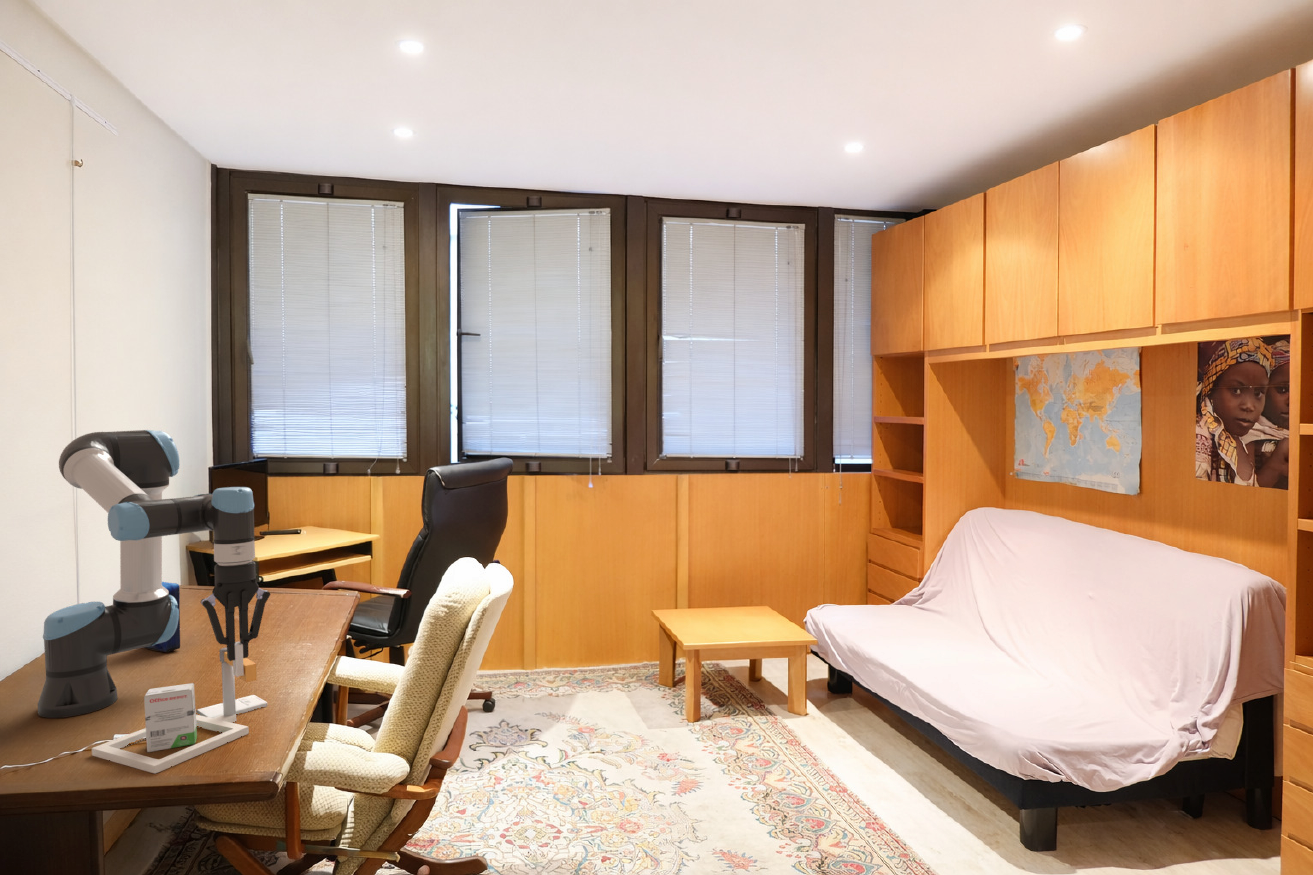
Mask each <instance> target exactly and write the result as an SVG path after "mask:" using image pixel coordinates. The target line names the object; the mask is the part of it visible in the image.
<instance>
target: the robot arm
mask: <svg viewBox="0 0 1313 875" xmlns="http://www.w3.org/2000/svg"><path fill="white" fill-rule="evenodd" d="M58 468H59V472H60V474H61V476H62V478H63V479H64V480H65V481H66V482H67V483H68V484H70V486H72V487H74V488H77V489H81V490H83V491H84V492H86V493H87V495H88V496H89V497H91V498H92V499H93V500H94V501H95V503H97V504H98V505H99V506H100V507H101V508H102V509H103V510H104V511H106V513H107V526H108V530H109V532H110V535H111V537H112V538H113V539H114V540H115V541H119V542H120V544H119V545H120V546H119V547H120V548H119V550H120V554H119V555H120V558H119V559H120V565H119V566H120V568H119V569H120V572H119V574H120V581H119V582H120V583H119V584H120V589H119V590H117V591H116V592H115V593H114V594H113V595H112V605H105V603H103V602H101V601H89V602H82V603H78V604H73V605H71V606H66V607H63V608H61V609H58V610H56V611H53V612H52V613H50V614H49V615H48V616H47V617H46V618H45V619H44V622H43V634H42V639H43V645H44V647H43V648H44V663H45V664H44V665H45V666H44V667H45V680H44V684H43V687H42V690H41V693H40V696H39V699H38V702H37V714H38V716H39V717H42V718H48V719H57V718H58V719H60V718H67V717H68V718H69V717H74V716H79V715H84V714H85V715H86V714H88V713H93V712H95V711H99V710H101V709H104V708H106V707H109V706H111V705H113V704H114V703H116V701H118V689H117V686H116V684H115V682H114V680H113V679H112V676H111V674H110V671H109V670H108V661H107V660H108V656H111V655H115V654H121V653H124V652H128V651H132V650H138V649H141V648H142V649H143V647H150V646H153V645H155V644H159V643H162V642H165V641H167V640H169V639H170V638H171V637H172V636H173V635H174V633H175V631H176V628H177V625H178V619H179V610H178V608H177V606H178V604H177V601H176V599H175V598H174V597H173V596H171V595H169V591H168V590H167V589H166V588H165V587H163V586H162V582H163V576H162V574H163V568H162V565H163V564H162V563H163V561H162V560H163V558H162V557H163V540H162V539H163V537H164V536H165V537H167V536H173V535H181V534H190V533H198V532H199V533H200V532H206V531H211V532H213V561H214V562H215V563H216V564H215V565H214V566H213V567H214V568H213V569H214V587H213V589H212V592H211V594H210V595H209V596H207V597H206V598H202V599H201V600H200V603H201V605H202V606H203V607H204V609H205V610H206V613H207V614H208V619H209V621H210V624H211V628H212V631H213V634H214V636H215V639H216V642H218V644H219V645H226V647H227V658H228V660H229V661H232V660H233V674H234V677H240V676H243V675H244V668H243V658H248V657H249V644H250V641H252V640H253V639H256V638H258V636H259V632H260V628H261V624H262V620H263V615H264V610H265V606H266V603H267V601H268V599H269V598H270V597H271V592H269V591H268V590H267V589H262V588H260V587H259V584H258V582H257V576H256V573H257V571H256V562H255V561H254V560H255V558H256V549H255V548H256V546H255V544H256V543H255V502H254V495H253V493H254V492H253V491H252V489H251V488H250V487H247V486H230V487H229V486H227V487H219V488H218V487H217V488H216V489H214V490H213V492H212V493H199V494H196V495H193V496H185V497H176V498H163V491H164V490H166V489H167V487H169V486H170V478H173V477H174V476H177V474H178V473H179V469H180V456H179V451H178V448H177V445H176V443H175V441H174V440H173V438H172V436H171V435H169V433H168V432H165V431H162V430H151V429H142V430H141V429H139V430H121V431H119V430H117V431H93V432H90V433H86V434H83V435H80V436H79V437H77V438H75V439H73V440H72V441H70V442H69V443H68V444H67V445H66V446H65V448H63V450H62V452H61V453H60V456H59V459H58ZM254 597H256V602H255V605H254V610H253V614H252V619H251V622H250V626H249V604H250V602H251V601H252V600H253V599H254ZM216 600H217V601H218V602H219V603H220V604H221V606H223V607H224V613H225V614H224V616H225V635H224V633H223V629H222V626H221V623H220V620H219V617H218V613H217V610H216V609H215V605H216V604H217V602H216ZM236 607H237V609H238V625H239V626H238V627H239V628H238V629H239V632H238V633H239V641H236V631H235V630H236V627H235V611H236V610H235V608H236ZM248 659H249V658H248Z"/></svg>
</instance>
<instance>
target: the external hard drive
mask: <svg viewBox="0 0 1313 875" xmlns="http://www.w3.org/2000/svg"><path fill="white" fill-rule="evenodd" d="M235 705H236V714H238V715H240V714H239V713H242V714H245V713H247V712H248V711H249V712H253V711H255V710H254V709H256V710H258V709H257V708H259V709H262V708H261V707H263V708H265V707H268V702H267V701H266V700H264V699H262V698H261V697H259V696H257V695H255V694H252V695H251V694H250V695H247V696H243V697H239V698H237V699H236V698H235ZM196 713H198V714H200V715H201V716H205V717H209V718H215V717H217V716H220V715H222V714H223V702H220V703H218V704H217V703H216V704H212V705H210V706H206V707H202V708H198V709H196ZM198 714H197V715H198Z"/></svg>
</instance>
